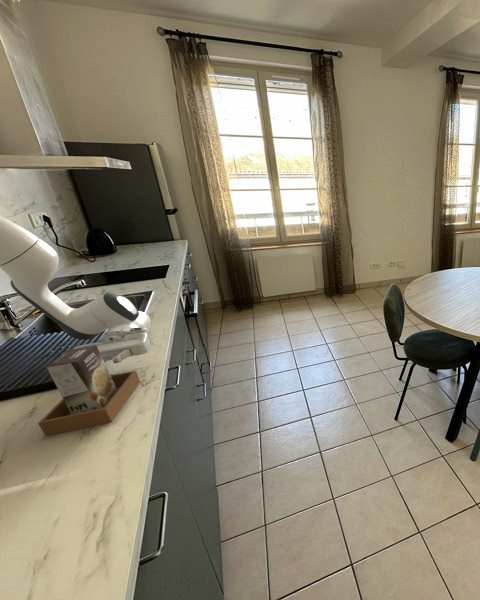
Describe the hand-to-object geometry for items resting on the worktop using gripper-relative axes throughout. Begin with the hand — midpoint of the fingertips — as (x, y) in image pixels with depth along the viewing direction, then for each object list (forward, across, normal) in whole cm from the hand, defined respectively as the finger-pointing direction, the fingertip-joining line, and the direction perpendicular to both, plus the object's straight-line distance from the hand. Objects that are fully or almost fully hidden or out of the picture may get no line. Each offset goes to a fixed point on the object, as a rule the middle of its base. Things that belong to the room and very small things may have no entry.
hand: (95, 364), depth 90 cm
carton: (+6, 0, +10) cm, 11 cm away
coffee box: (+6, 0, +10) cm, 12 cm away
